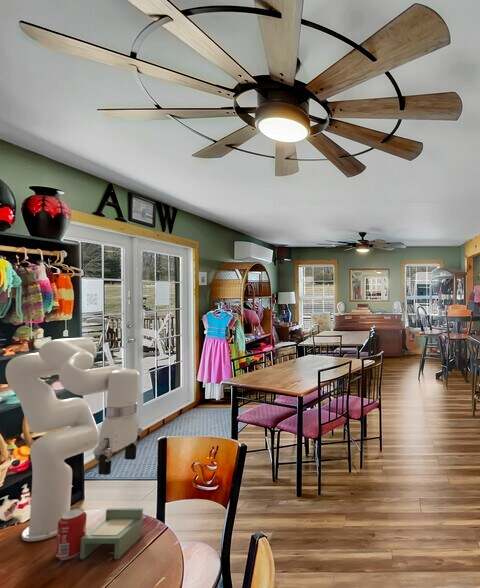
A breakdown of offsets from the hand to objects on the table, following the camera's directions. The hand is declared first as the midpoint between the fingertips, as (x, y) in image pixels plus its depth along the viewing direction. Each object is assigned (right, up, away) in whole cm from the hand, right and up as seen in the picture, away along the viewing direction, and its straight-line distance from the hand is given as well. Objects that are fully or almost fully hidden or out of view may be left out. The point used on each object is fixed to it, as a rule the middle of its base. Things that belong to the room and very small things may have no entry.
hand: (117, 466), depth 105 cm
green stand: (-2, -26, +1) cm, 26 cm away
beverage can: (-12, -25, -2) cm, 28 cm away
